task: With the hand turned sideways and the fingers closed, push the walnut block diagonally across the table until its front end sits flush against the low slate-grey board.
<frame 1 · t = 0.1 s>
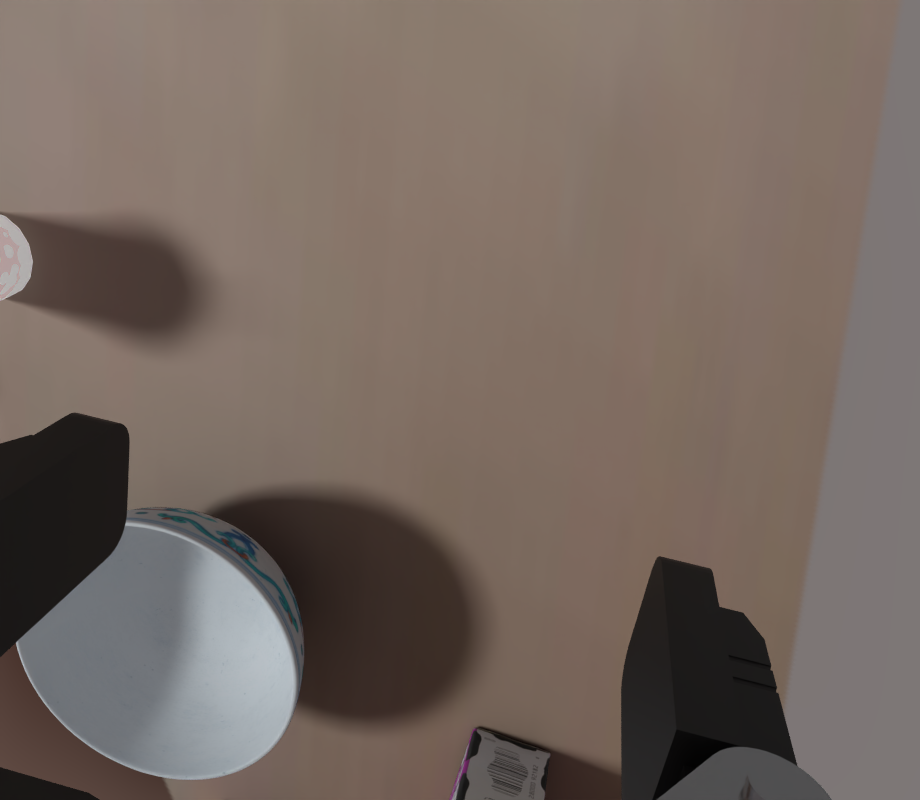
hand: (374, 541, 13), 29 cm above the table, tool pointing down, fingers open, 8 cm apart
chinaware: (221, 574, 50), on the table
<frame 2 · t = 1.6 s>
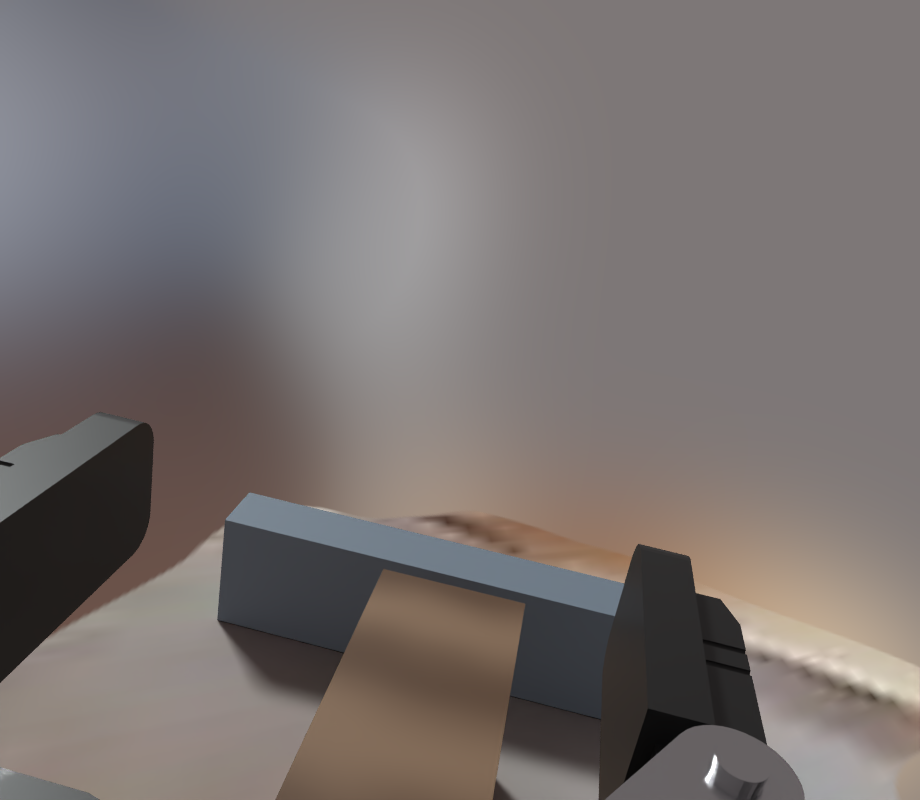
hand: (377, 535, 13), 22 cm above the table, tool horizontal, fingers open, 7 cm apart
grey board: (448, 659, 45), on the table
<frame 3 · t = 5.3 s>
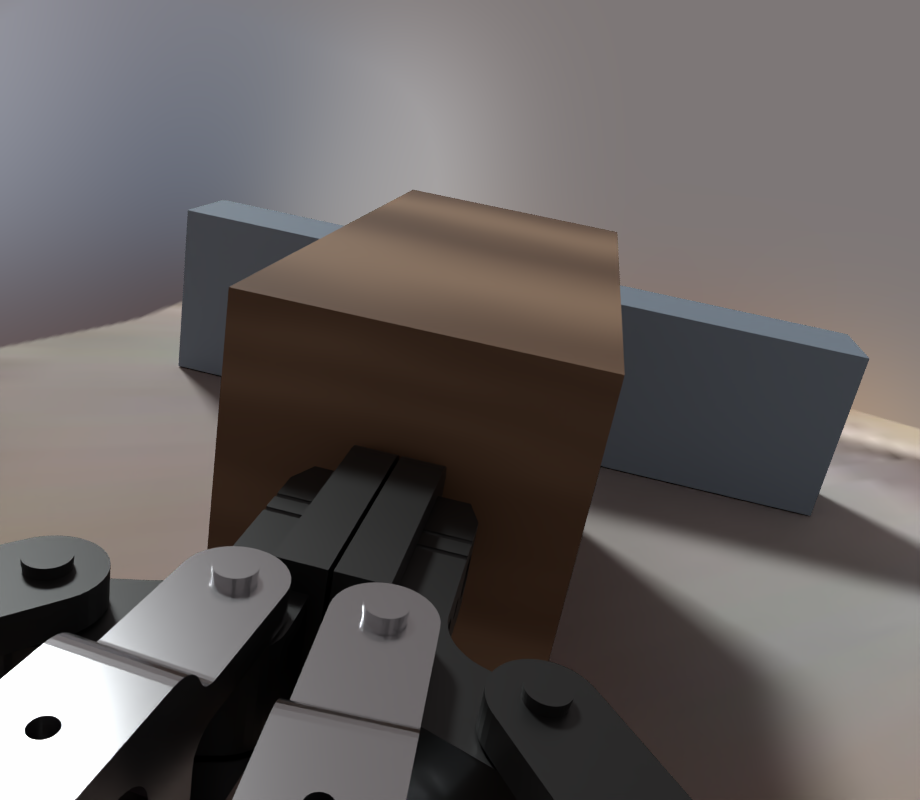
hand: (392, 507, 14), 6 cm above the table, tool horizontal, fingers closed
walnut block: (417, 596, 22), on the table, touching gripper
grey board: (488, 423, 33), on the table
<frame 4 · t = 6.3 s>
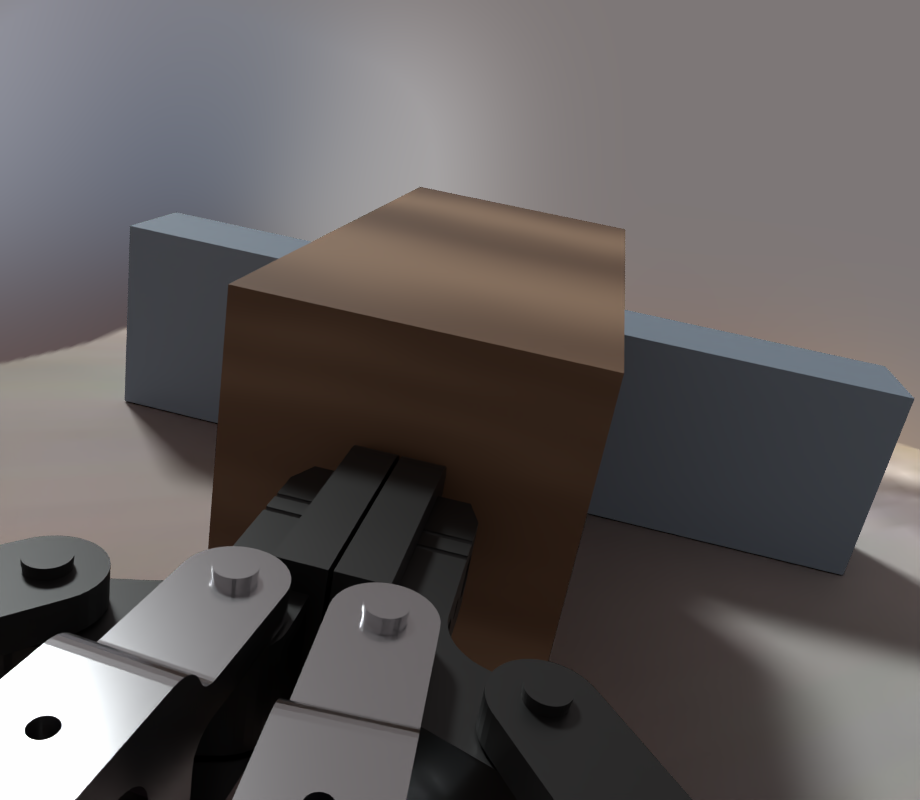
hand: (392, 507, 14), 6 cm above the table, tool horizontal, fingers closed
walnut block: (422, 593, 22), on the table, touching grey board, gripper
grey board: (475, 465, 29), on the table
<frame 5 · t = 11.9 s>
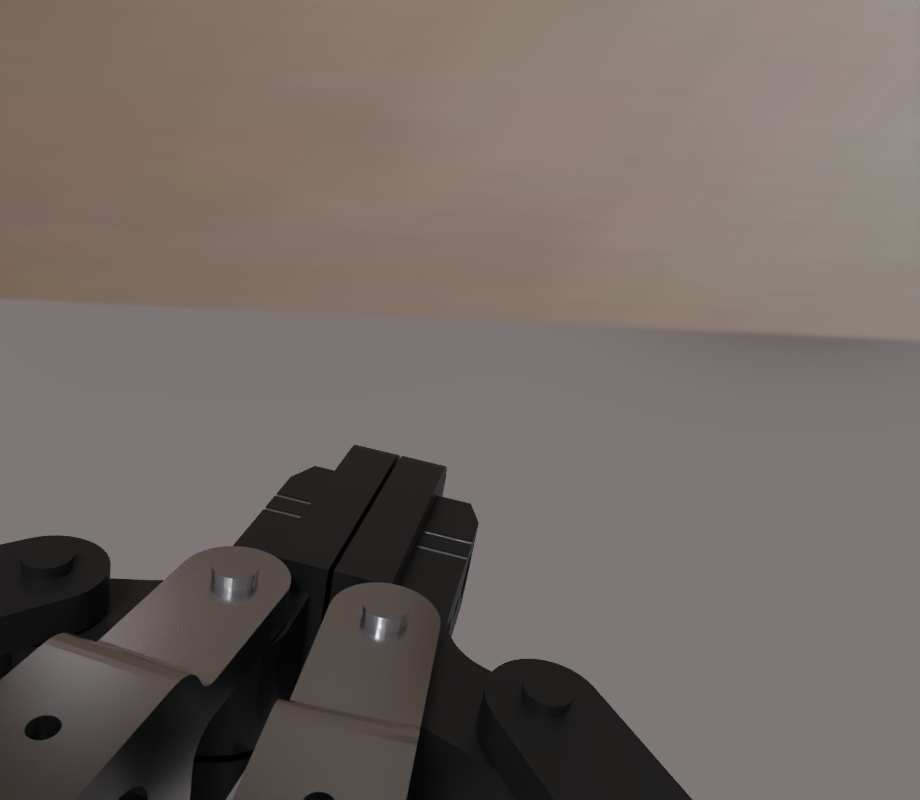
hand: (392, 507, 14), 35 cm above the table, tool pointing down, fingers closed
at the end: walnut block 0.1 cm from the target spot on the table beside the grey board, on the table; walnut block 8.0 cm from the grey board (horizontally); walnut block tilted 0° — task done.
